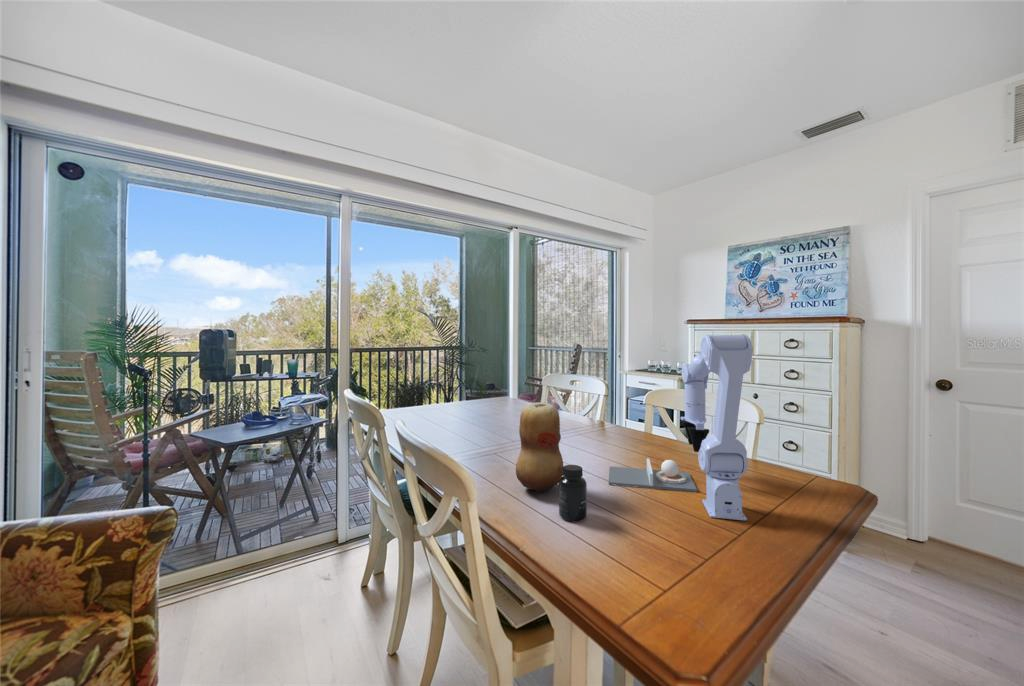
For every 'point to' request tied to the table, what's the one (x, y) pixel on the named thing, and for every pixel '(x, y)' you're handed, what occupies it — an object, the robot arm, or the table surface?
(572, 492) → the supplement bottle
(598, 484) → the table surface
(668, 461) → the ball
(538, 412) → the butternut squash
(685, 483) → the board
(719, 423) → the robot arm
